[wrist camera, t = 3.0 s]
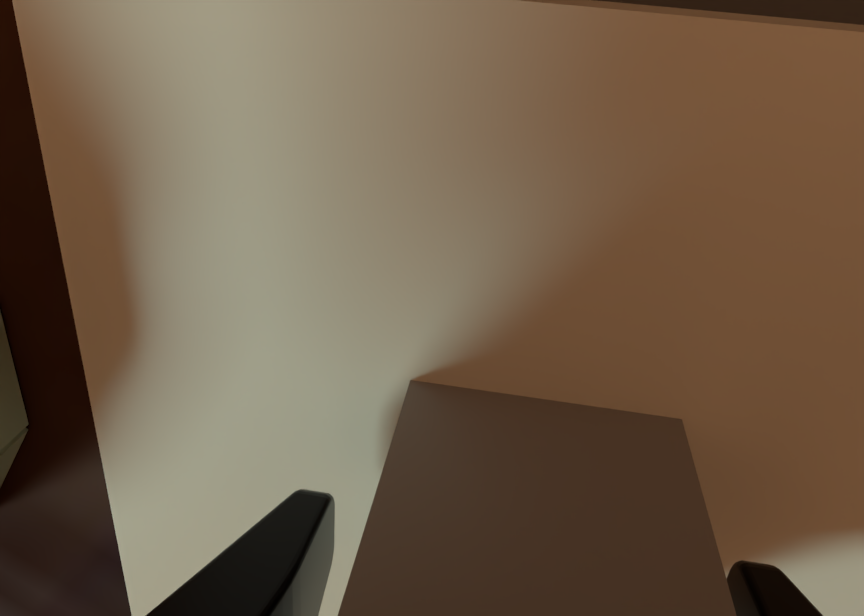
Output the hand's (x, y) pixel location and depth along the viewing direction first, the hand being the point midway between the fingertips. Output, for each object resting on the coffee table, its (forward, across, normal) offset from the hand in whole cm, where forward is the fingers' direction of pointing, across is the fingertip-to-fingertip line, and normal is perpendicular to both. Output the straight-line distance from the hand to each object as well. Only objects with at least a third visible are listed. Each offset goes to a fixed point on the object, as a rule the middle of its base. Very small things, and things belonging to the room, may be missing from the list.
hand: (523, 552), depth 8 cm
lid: (+2, 0, 0) cm, 2 cm away
